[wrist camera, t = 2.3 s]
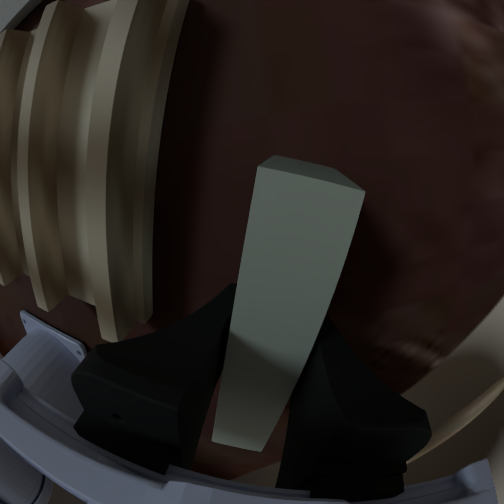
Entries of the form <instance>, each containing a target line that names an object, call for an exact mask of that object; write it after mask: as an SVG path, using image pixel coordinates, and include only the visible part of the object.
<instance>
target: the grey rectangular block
mask: <svg viewBox="0 0 504 504" xmlns="http://www.w3.org/2000/svg"><path fill="white" fill-rule="evenodd" d="M42 1H43V0H0V33H2V32H3V31H4V30H6V29H12V30H14V29H15V28H16V27H17V26H18V25H19V24H20V22H21V21H22V20H23V19H24V18H25V17H26V16H27V15H28V14H29V13H30V12H31V11H32V10H33V9H34V8H35V7H36V6H37V5H39V4H40V3H41V2H42Z"/></svg>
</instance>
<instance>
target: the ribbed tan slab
mask: <svg viewBox="0 0 504 504" xmlns="http://www.w3.org/2000/svg"><path fill="white" fill-rule="evenodd" d="M188 4H189V0H111V1H107V2H104V3H101V4H97V5H94V6H91V7H88V8H85V9H84V8H81V7H79V6H76V5H73V4H71V3H68V2H65V1H62V0H57V1H54V2H52V3H50V4H48V5H46V7H45V10H44V12H43V15H42V18H41V21H40V24H39V27H38V28H37V29H35V30H33V31H31V32H27V31H20V30H12V29H6V30H4V31H3V32H2V33H0V284H2V285H3V286H6V285H7V284H8V283H10V282H11V281H13V280H14V279H15V278H17V277H18V276H20V275H21V274H23V273H24V274H26V275H28V276H30V278H31V282H32V286H33V290H34V294H35V298H36V301H37V305H38V307H40V308H42V309H43V310H45V311H47V312H49V311H50V310H52V309H53V308H54V307H55V306H56V305H57V304H58V303H60V302H61V301H62V300H63V299H64V298H65V297H67V296H68V295H71V296H73V297H75V298H78V299H80V300H82V301H85V302H87V303H90V304H92V305H95V306H96V311H97V316H98V322H99V327H100V331H101V336H102V338H103V339H105V340H107V341H110V342H112V343H113V342H119V341H122V340H123V339H124V337H125V336H126V335H127V333H128V332H129V331H130V330H131V328H132V327H133V326H134V324H135V323H136V322H140V323H143V324H146V322H147V321H148V320H149V318H150V317H151V316H152V314H153V296H152V244H153V217H154V200H155V186H156V174H157V164H158V155H159V146H160V138H161V130H162V123H163V116H164V110H165V104H166V98H167V92H168V87H169V81H170V76H171V71H172V67H173V62H174V57H175V53H176V49H177V44H178V40H179V36H180V32H181V29H182V25H183V21H184V17H185V14H186V10H187V7H188Z"/></svg>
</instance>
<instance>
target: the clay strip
mask: <svg viewBox="0 0 504 504" xmlns="http://www.w3.org/2000/svg"><path fill="white" fill-rule="evenodd" d="M364 196H365V191H364V190H362V189H361V188H360V187H359V186H357V185H356V184H355V183H353V182H352V181H351V180H349V179H348V178H347V177H345V176H344V175H343V174H341V173H340V172H339V171H337V170H336V169H334V168H330V167H326V166H322V165H318V164H313V163H309V162H305V161H300V160H296V159H291V158H287V157H282V156H277V155H274V156H272V157H271V158H269V159H268V160H266V161H265V162H263V163H262V164H261V165H259V166H258V169H257V174H256V180H255V185H254V191H253V197H252V202H251V208H250V214H249V219H248V225H247V231H246V236H245V242H244V248H243V253H242V259H241V265H240V271H239V277H238V282H237V288H236V294H235V300H234V306H233V312H232V318H231V324H230V330H229V336H228V342H227V348H226V354H225V360H224V366H223V373H222V379H221V385H220V391H219V397H218V404H217V410H216V416H215V423H214V429H213V436H212V441H213V442H217V443H221V444H225V445H230V446H234V447H239V448H244V449H249V450H254V451H260V452H261V451H262V449H263V448H264V446H265V444H266V442H267V440H268V439H269V437H270V435H271V433H272V431H273V429H274V427H275V425H276V423H277V422H278V420H279V418H280V416H281V414H282V412H283V410H284V408H285V406H286V404H287V402H288V400H289V398H290V396H291V394H292V391H293V389H294V387H295V385H296V383H297V381H298V379H299V376H300V374H301V372H302V370H303V368H304V365H305V363H306V361H307V359H308V356H309V354H310V352H311V349H312V347H313V345H314V342H315V340H316V337H317V335H318V333H319V330H320V328H321V325H322V323H323V320H324V317H325V315H326V312H327V310H328V307H329V304H330V302H331V299H332V296H333V294H334V291H335V288H336V285H337V283H338V280H339V277H340V274H341V271H342V268H343V265H344V262H345V259H346V256H347V253H348V250H349V247H350V244H351V241H352V237H353V234H354V231H355V227H356V224H357V221H358V217H359V214H360V210H361V207H362V203H363V199H364Z"/></svg>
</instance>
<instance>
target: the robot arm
mask: <svg viewBox="0 0 504 504" xmlns="http://www.w3.org/2000/svg"><path fill="white" fill-rule="evenodd" d="M236 288H237V284H234V283H231V284H229V285H228V286H227V287H226V288H225V289H224V290H223V291H221V292H220V293H219V294H218V295H217V296H216V297H214V298H213V299H212V300H211V301H209V302H208V303H207V304H205V305H204V306H203V307H201V308H200V309H198V310H197V311H195V312H194V313H192V314H190V315H189V316H187V317H185V318H184V319H182V320H180V321H178V322H176V323H174V324H172V325H170V326H168V327H165V328H163V329H160V330H158V331H155V332H153V333H150V334H147V335H143V336H140V337H137V338H133V339H129V340H124V341H119V342H113V343H106V344H99V345H96V346H95V347H94V348H93V349H92V350H91V351H90V352H89V353H88V354H87V352H86V349H85V346H84V345H83V344H82V343H81V342H80V341H78V340H76V339H74V338H72V337H70V336H68V335H66V334H64V333H62V332H60V331H59V330H57V329H55V328H53V327H51V326H49V325H48V324H46V323H44V322H42V321H41V320H39V319H37V318H36V317H34V316H32V315H31V314H29V313H27V312H26V311H24V310H22V311H21V312H20V316H21V318H22V321H23V324H24V327H25V329H26V332H27V335H26V336H25V337H24V338H23V339H22V340H21V341H20V342H19V343H18V344H17V345H16V346H15V347H14V348H13V349H12V350H11V351H10V352H9V353H8V354H7V355H6V356H5V357H4V358H3V359H1V358H0V504H47V502H48V500H49V498H50V495H51V492H52V481H54V482H55V483H57V484H58V485H60V486H61V487H63V488H64V489H66V490H67V491H69V492H70V493H72V494H74V495H75V496H77V497H78V498H80V499H82V500H83V501H85V502H87V504H497V503H498V501H497V496H496V491H495V486H494V482H493V478H492V474H491V470H490V467H489V463H488V460H487V459H483V460H480V461H477V462H474V463H471V464H469V465H467V466H465V467H463V468H462V469H460V470H459V471H458V472H456V473H455V474H454V475H451V476H447V477H443V478H439V479H435V480H431V481H426V482H421V483H416V484H411V485H405V486H404V482H403V475H402V473H405V472H406V471H407V466H406V461H408V460H409V459H410V458H412V457H413V456H414V455H415V454H417V453H418V452H419V451H420V450H422V449H423V448H424V447H425V446H426V445H427V443H428V442H429V440H430V438H431V436H432V432H431V428H430V424H429V421H428V418H427V414H426V411H424V410H423V409H421V408H420V407H418V406H416V405H415V404H413V403H411V402H410V401H408V400H406V399H404V398H403V397H402V396H400V395H399V394H398V393H396V392H395V391H394V390H392V389H391V388H390V387H388V386H387V385H386V384H385V383H383V382H382V381H381V380H380V379H379V378H378V377H377V376H376V375H375V374H373V373H372V372H371V371H370V370H369V369H368V368H367V367H366V366H365V364H364V363H363V362H362V361H361V360H360V359H359V358H358V357H357V356H356V354H355V353H354V352H353V351H352V350H351V348H350V347H349V346H348V344H347V343H346V342H345V340H344V339H343V337H342V336H341V335H340V333H339V332H338V330H337V329H336V327H335V326H334V324H333V322H332V321H331V319H330V318H329V316H328V314H327V313H326V315H325V317H324V320H323V323H322V325H321V328H320V330H319V333H318V335H317V337H316V340H315V342H314V345H313V347H312V349H311V352H310V354H309V356H308V359H307V361H306V363H305V365H304V368H303V370H302V372H301V374H300V376H299V379H298V381H297V383H296V385H295V387H294V389H293V391H292V394H291V401H290V413H289V420H288V427H287V433H286V439H285V445H284V450H283V455H282V460H281V465H280V470H279V474H278V478H277V482H276V486H275V488H271V487H263V486H257V485H250V484H245V483H239V482H234V481H229V480H225V479H220V478H216V477H212V476H208V475H204V474H200V473H197V472H193V471H190V469H191V466H192V462H193V459H194V455H195V452H196V448H197V445H198V441H199V438H200V435H201V431H202V428H203V424H204V421H205V418H206V414H207V411H208V408H209V405H210V401H211V398H212V395H213V392H214V389H215V387H216V384H217V382H218V379H219V377H220V375H221V373H222V370H223V366H224V360H225V354H226V348H227V342H228V336H229V330H230V324H231V318H232V312H233V306H234V300H235V294H236Z"/></svg>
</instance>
